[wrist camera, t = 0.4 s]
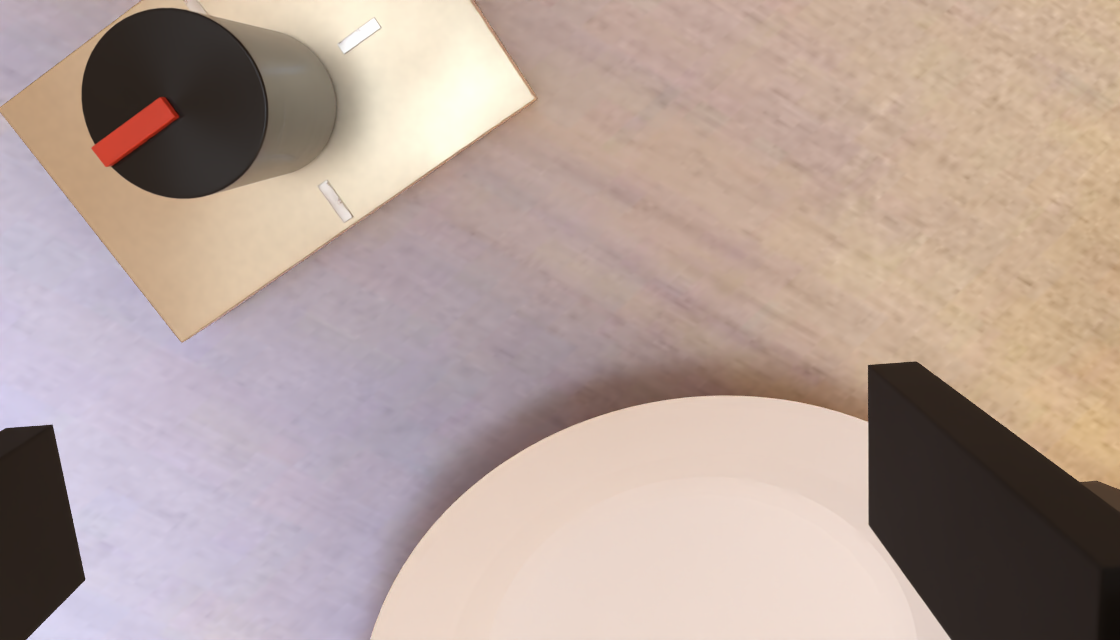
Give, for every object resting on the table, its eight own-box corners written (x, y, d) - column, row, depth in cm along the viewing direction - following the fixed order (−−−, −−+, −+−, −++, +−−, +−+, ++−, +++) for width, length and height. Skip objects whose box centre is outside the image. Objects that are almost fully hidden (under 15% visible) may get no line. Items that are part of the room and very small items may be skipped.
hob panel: (380, -141, 30) (360, -169, 27) (538, 98, 32) (535, 98, 29) (48, 108, 32) (-7, 108, 29) (214, 322, 34) (179, 344, 31)
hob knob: (278, -1, 28) (182, -35, 21) (365, 124, 29) (302, 132, 22) (164, 83, 29) (34, 78, 22) (253, 203, 30) (155, 236, 23)
